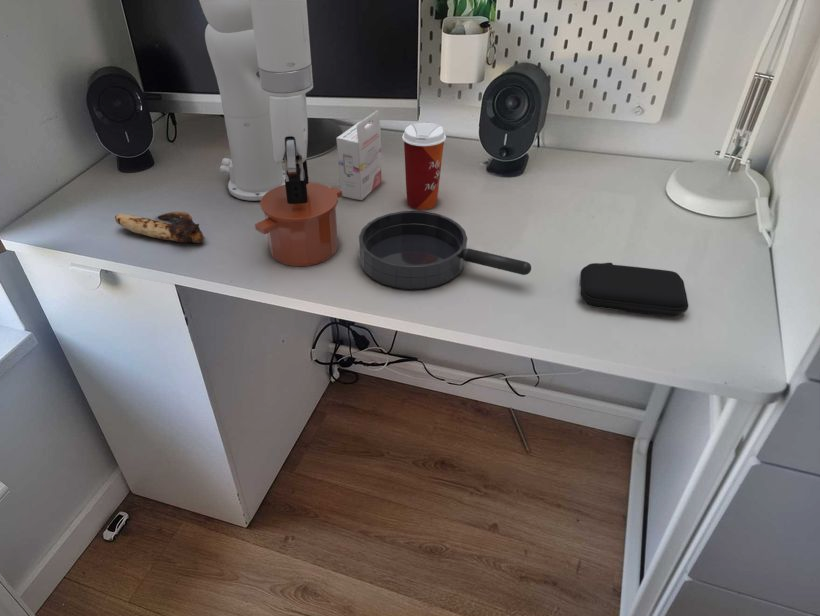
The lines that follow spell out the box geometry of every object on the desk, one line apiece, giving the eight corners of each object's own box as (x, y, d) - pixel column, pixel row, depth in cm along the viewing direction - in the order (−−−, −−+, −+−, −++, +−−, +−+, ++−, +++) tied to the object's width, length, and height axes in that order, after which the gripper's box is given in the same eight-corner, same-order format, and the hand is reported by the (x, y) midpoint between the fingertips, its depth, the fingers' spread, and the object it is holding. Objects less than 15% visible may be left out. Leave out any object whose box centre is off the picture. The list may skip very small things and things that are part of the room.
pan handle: (459, 262, 100) (459, 251, 99) (463, 255, 102) (464, 244, 100) (528, 278, 96) (530, 267, 95) (531, 272, 98) (533, 260, 96)
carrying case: (678, 280, 99) (578, 269, 102) (684, 263, 97) (582, 253, 100) (686, 322, 91) (578, 309, 94) (693, 305, 89) (582, 292, 92)
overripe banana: (222, 229, 117) (140, 212, 122) (219, 206, 114) (135, 189, 119) (194, 254, 110) (109, 235, 115) (189, 230, 107) (102, 211, 112)
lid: (245, 208, 105) (239, 172, 101) (303, 181, 112) (299, 147, 108) (295, 234, 98) (291, 197, 94) (354, 204, 105) (352, 168, 101)
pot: (244, 255, 109) (236, 210, 104) (317, 218, 118) (314, 174, 112) (288, 281, 103) (282, 235, 97) (362, 239, 112) (361, 195, 106)
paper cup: (440, 213, 117) (444, 139, 108) (398, 211, 119) (399, 137, 110) (444, 193, 123) (448, 121, 114) (404, 191, 124) (405, 120, 115)
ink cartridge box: (360, 178, 130) (358, 104, 120) (382, 183, 128) (381, 108, 118) (338, 196, 124) (334, 121, 114) (361, 201, 122) (358, 125, 112)
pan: (341, 275, 104) (340, 251, 101) (387, 225, 115) (387, 202, 112) (440, 302, 97) (442, 277, 94) (479, 246, 108) (482, 223, 105)
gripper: (264, 60, 98) (278, 171, 110) (255, 100, 85) (271, 221, 97) (313, 57, 98) (321, 168, 110) (311, 97, 85) (321, 218, 97)
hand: (298, 192), depth 104 cm, fingers open, 5 cm apart
